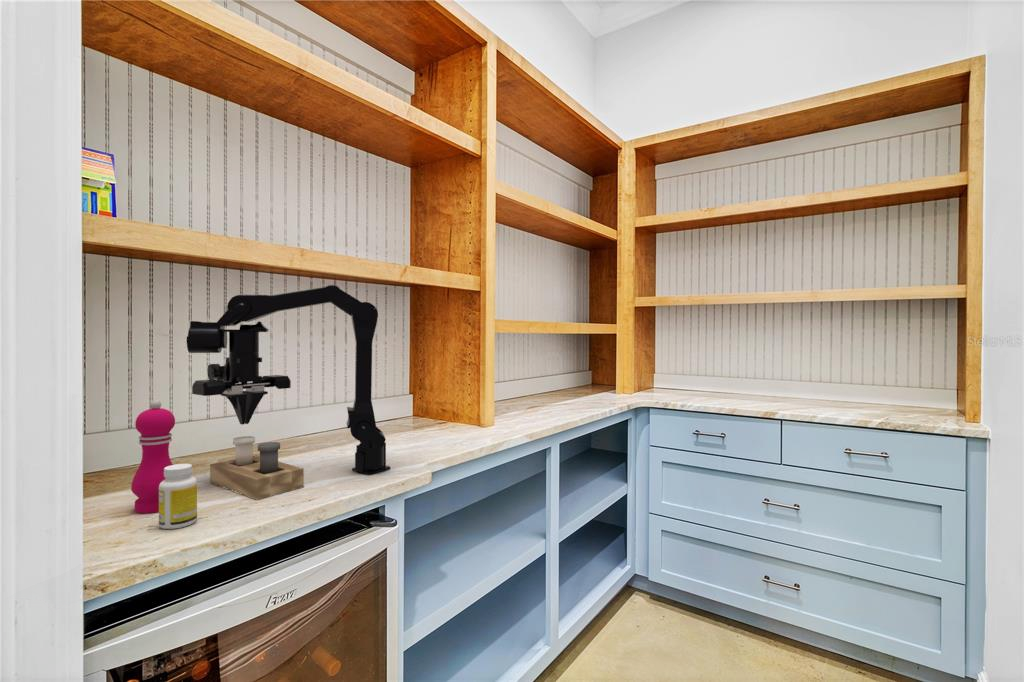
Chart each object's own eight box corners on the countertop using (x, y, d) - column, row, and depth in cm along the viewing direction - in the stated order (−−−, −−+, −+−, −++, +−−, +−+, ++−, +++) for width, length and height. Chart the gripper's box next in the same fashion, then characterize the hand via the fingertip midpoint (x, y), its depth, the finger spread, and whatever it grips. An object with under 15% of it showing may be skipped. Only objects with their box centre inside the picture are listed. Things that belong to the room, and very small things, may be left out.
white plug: (248, 461, 112) (248, 435, 112) (258, 464, 110) (258, 437, 109) (229, 465, 108) (229, 438, 108) (239, 468, 106) (239, 441, 106)
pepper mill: (183, 507, 92) (182, 400, 92) (134, 517, 87) (134, 404, 87) (174, 498, 97) (174, 396, 97) (128, 507, 92) (128, 399, 92)
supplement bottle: (204, 518, 87) (204, 462, 87) (182, 530, 82) (182, 471, 82) (174, 517, 87) (174, 462, 87) (150, 529, 82) (150, 470, 82)
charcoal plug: (273, 468, 106) (273, 441, 106) (284, 471, 104) (284, 443, 104) (253, 472, 103) (253, 444, 103) (264, 476, 100) (264, 447, 100)
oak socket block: (255, 472, 116) (255, 455, 116) (303, 487, 105) (303, 468, 105) (210, 482, 108) (210, 464, 107) (256, 500, 97) (256, 479, 97)
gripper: (265, 350, 121) (265, 414, 121) (180, 353, 105) (180, 426, 106) (292, 352, 115) (292, 419, 115) (204, 354, 99) (205, 432, 99)
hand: (244, 424), depth 109 cm, fingers closed
